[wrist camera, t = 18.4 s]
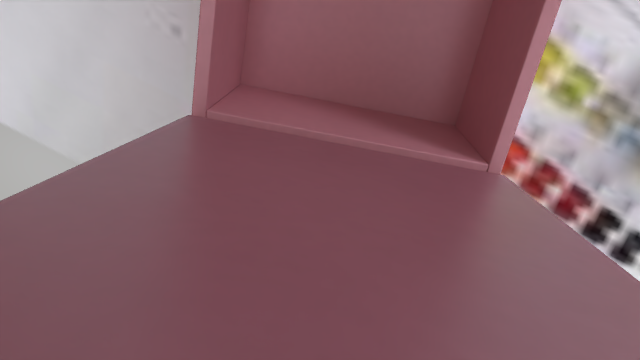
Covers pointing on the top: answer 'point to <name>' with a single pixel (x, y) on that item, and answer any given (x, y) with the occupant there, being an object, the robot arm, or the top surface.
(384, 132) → the pink open box
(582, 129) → the top surface
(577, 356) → the lid
